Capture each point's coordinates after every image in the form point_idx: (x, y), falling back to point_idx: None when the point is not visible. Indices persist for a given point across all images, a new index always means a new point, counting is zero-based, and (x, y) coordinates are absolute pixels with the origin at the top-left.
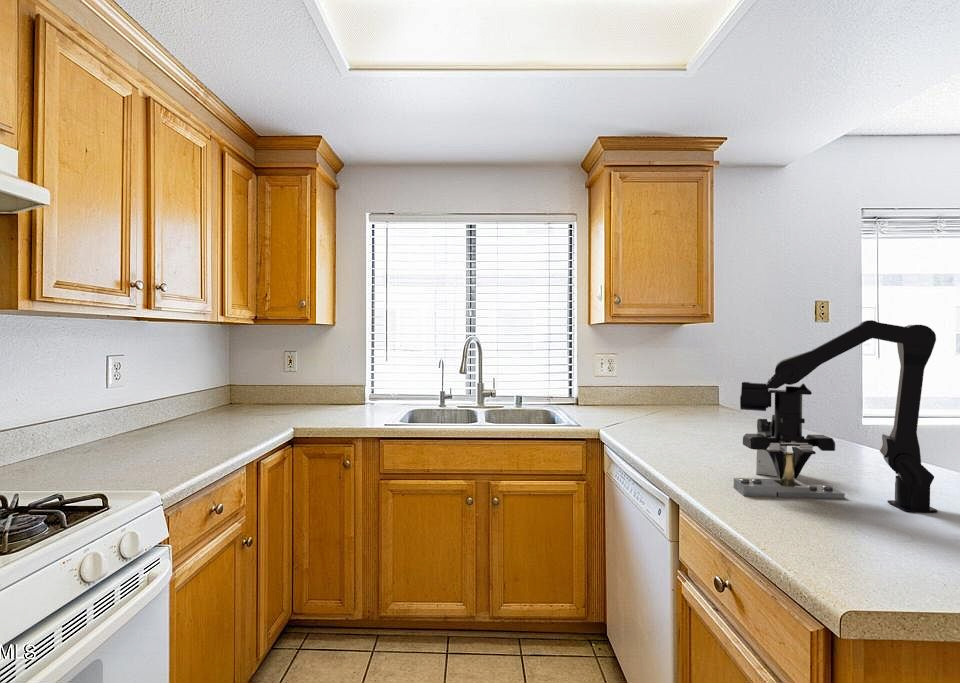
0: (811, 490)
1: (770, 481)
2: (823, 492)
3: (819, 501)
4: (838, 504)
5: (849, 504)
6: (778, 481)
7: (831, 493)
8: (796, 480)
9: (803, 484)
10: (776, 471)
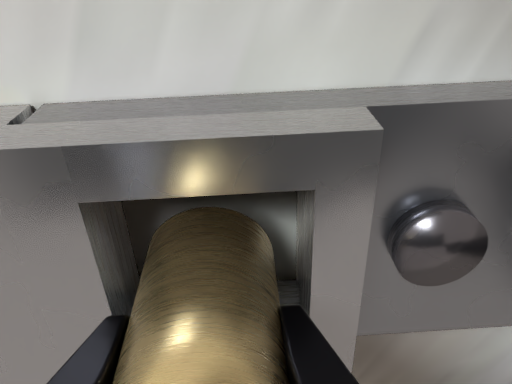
0: (392, 284)
1: (40, 258)
2: (453, 317)
3: (355, 352)
4: (433, 380)
5: (499, 371)
6: (147, 189)
7: (497, 326)
8: (362, 176)
9: (348, 306)
10: (60, 376)
